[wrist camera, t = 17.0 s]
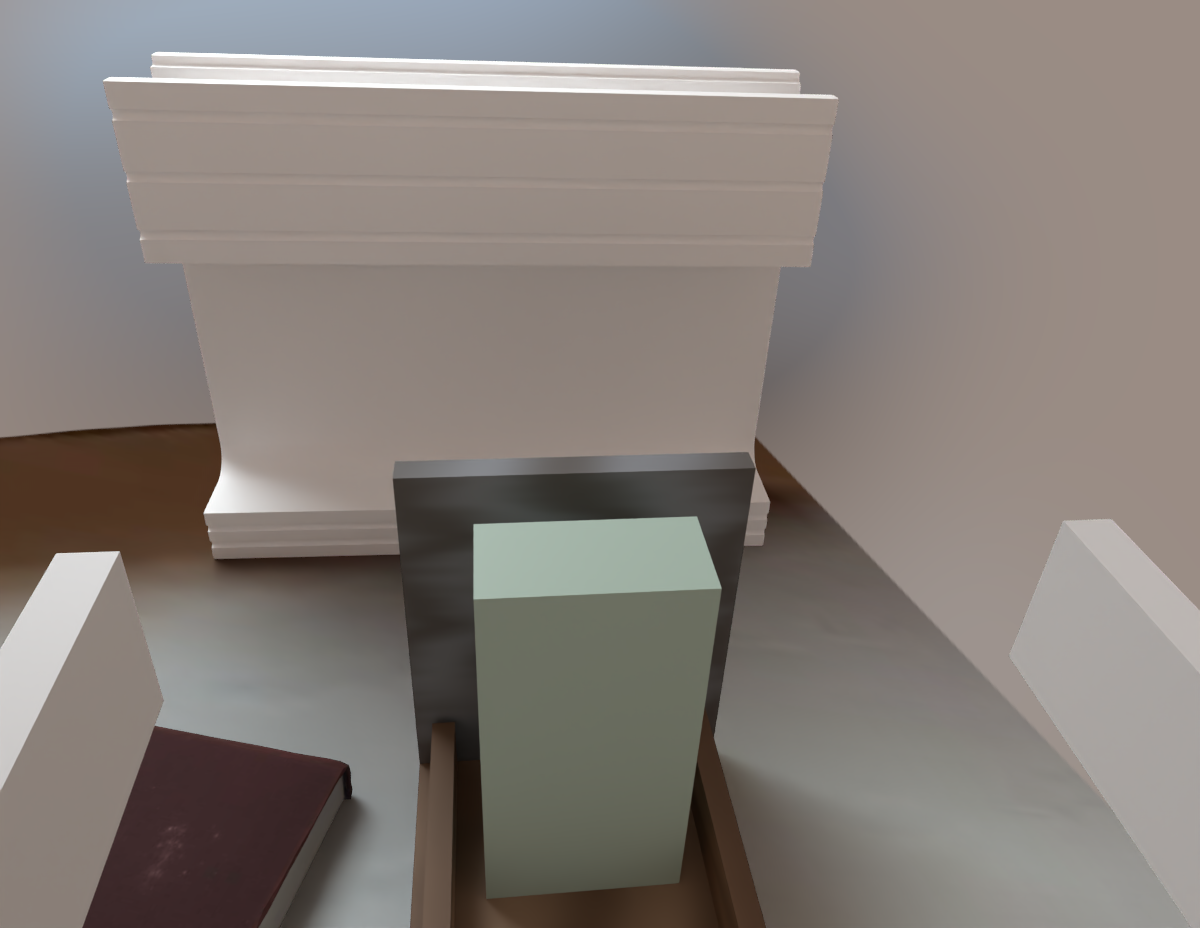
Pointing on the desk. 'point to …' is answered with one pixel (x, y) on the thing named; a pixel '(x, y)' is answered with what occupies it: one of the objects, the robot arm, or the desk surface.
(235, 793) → the book
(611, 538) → the grey-green tall block
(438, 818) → the slot board
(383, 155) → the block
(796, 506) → the desk surface
